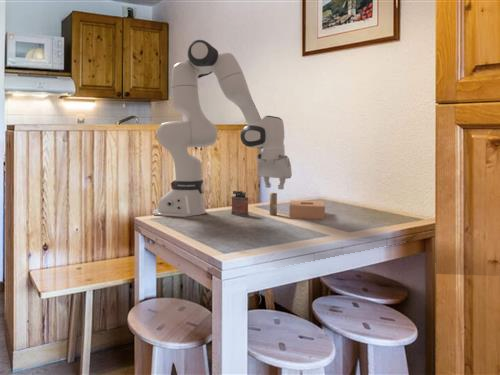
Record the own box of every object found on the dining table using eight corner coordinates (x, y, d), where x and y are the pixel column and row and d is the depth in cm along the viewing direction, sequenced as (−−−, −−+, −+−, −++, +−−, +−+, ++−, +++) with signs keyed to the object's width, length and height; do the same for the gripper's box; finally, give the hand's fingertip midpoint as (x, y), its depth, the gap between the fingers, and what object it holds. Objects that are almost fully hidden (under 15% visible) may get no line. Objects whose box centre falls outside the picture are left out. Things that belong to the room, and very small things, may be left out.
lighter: (250, 214, 187) (250, 191, 185) (245, 216, 184) (245, 192, 183) (234, 212, 191) (234, 189, 190) (229, 214, 188) (229, 190, 187)
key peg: (269, 215, 185) (269, 193, 184) (269, 213, 188) (270, 192, 187) (276, 215, 185) (276, 194, 184) (277, 214, 188) (277, 193, 187)
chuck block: (289, 218, 179) (289, 205, 178) (290, 211, 193) (290, 200, 192) (324, 218, 177) (324, 206, 177) (323, 212, 191) (323, 201, 190)
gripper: (295, 155, 177) (295, 189, 178) (266, 154, 194) (267, 186, 196) (282, 155, 174) (282, 190, 175) (254, 155, 191) (255, 187, 192)
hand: (274, 188), depth 186 cm, fingers open, 8 cm apart
